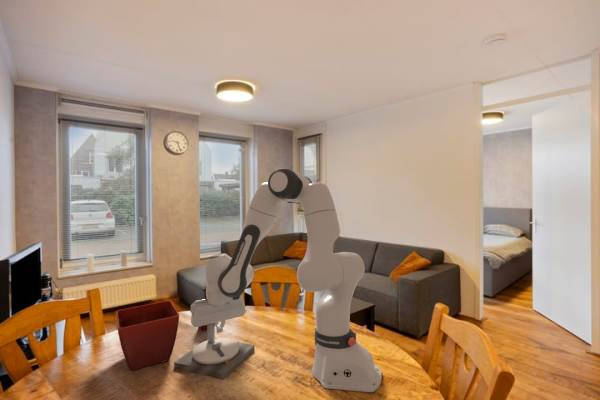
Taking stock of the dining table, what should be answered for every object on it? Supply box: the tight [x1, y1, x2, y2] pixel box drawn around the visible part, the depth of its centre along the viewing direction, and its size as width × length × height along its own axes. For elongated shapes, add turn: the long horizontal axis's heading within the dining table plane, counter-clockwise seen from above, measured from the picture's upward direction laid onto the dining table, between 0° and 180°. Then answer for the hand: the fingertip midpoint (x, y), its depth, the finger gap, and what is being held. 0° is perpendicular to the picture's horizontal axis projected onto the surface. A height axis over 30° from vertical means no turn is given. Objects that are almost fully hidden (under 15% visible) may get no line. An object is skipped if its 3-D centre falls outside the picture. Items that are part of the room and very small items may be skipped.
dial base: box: [173, 337, 255, 381], centre depth 112 cm, size 20×20×2 cm
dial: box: [192, 323, 239, 364], centre depth 112 cm, size 16×16×8 cm
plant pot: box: [115, 300, 180, 371], centre depth 113 cm, size 19×19×17 cm
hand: (219, 332), depth 119 cm, fingers closed
